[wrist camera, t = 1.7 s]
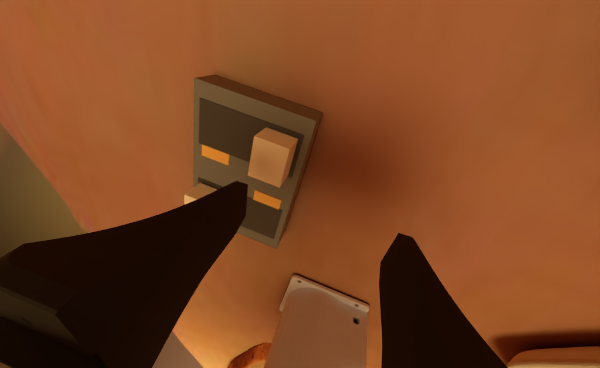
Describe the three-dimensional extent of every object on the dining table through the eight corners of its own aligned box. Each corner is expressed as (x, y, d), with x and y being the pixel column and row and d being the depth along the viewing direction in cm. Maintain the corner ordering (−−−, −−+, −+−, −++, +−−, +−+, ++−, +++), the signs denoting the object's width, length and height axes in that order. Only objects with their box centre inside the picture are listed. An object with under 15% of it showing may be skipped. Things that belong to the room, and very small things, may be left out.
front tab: (298, 138, 16) (289, 149, 14) (288, 174, 17) (279, 187, 16) (266, 127, 16) (254, 135, 14) (259, 163, 18) (247, 175, 16)
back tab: (224, 192, 20) (211, 205, 18) (221, 217, 22) (209, 231, 20) (199, 182, 20) (184, 194, 18) (199, 207, 22) (184, 221, 20)
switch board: (322, 112, 17) (316, 121, 15) (284, 231, 24) (276, 249, 22) (214, 74, 18) (193, 78, 16) (208, 201, 25) (192, 215, 23)
